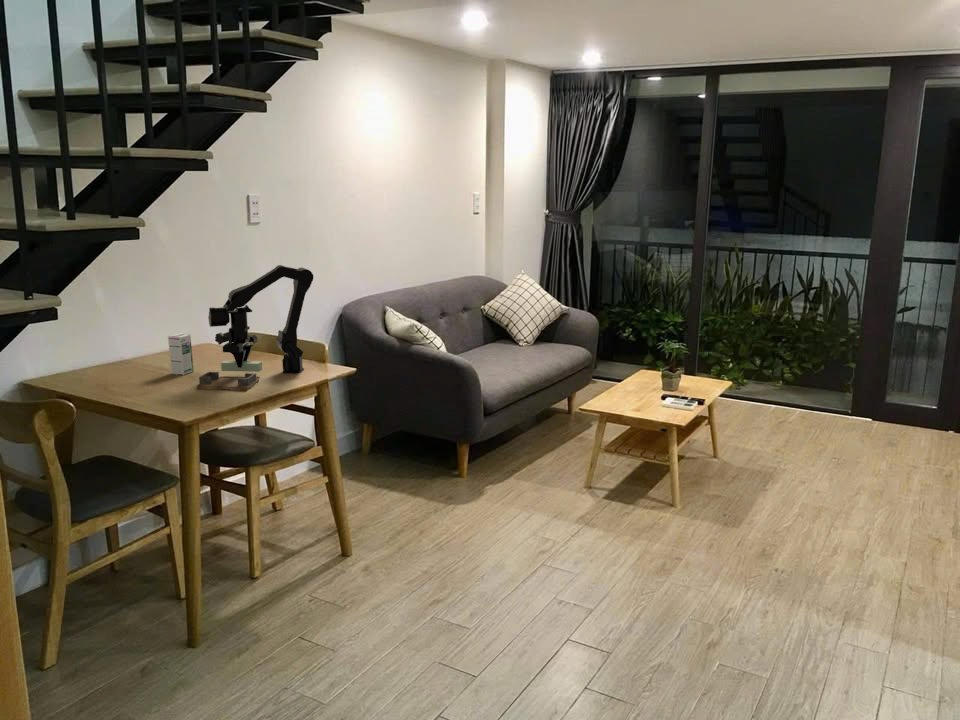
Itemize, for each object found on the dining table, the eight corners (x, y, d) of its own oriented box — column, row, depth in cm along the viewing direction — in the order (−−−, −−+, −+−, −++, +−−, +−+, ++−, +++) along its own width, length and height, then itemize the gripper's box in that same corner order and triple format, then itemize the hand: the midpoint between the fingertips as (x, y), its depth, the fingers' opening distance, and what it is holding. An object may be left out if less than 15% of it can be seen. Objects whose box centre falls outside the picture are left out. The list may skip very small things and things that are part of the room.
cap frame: (258, 382, 288) (258, 372, 287) (247, 390, 277) (246, 380, 277) (210, 380, 290) (209, 370, 289) (197, 388, 279) (196, 378, 278)
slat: (262, 369, 297) (261, 361, 296) (259, 371, 293) (258, 363, 293) (225, 368, 298) (224, 360, 297) (221, 370, 294) (221, 362, 294)
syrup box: (183, 375, 297) (180, 336, 293) (170, 373, 299) (167, 335, 295) (193, 371, 302) (191, 333, 298) (181, 370, 304) (178, 332, 300)
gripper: (228, 319, 301) (230, 359, 305) (207, 329, 283) (210, 371, 287) (256, 320, 300) (259, 360, 304) (237, 329, 282) (240, 372, 286)
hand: (241, 366), depth 295 cm, fingers closed on slat, 3 cm apart
